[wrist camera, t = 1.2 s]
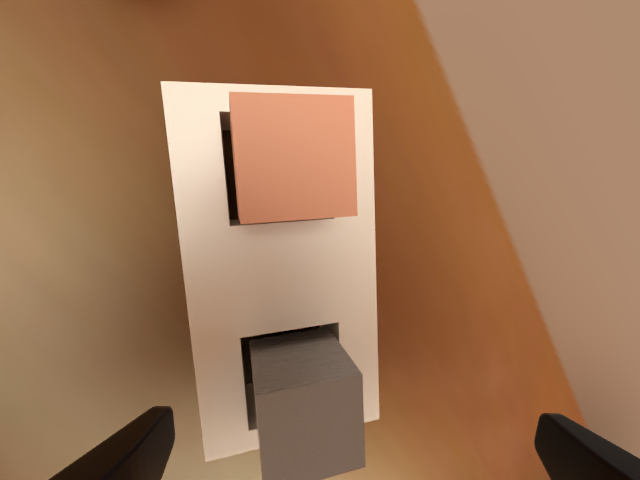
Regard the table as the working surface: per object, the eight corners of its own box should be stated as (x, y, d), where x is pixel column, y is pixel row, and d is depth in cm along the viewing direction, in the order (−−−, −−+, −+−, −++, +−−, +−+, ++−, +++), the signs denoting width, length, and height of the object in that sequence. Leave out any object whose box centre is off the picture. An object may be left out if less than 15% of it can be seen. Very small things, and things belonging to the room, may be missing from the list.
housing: (352, 378, 21) (379, 418, 17) (210, 408, 19) (205, 462, 15) (343, 110, 19) (371, 88, 15) (177, 107, 16) (160, 81, 12)
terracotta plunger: (322, 210, 15) (357, 216, 11) (238, 215, 14) (240, 224, 10) (318, 124, 15) (353, 95, 11) (230, 124, 14) (228, 91, 10)
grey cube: (331, 398, 17) (365, 466, 13) (255, 414, 16) (264, 495, 12) (328, 327, 16) (362, 374, 12) (248, 340, 15) (255, 396, 11)
